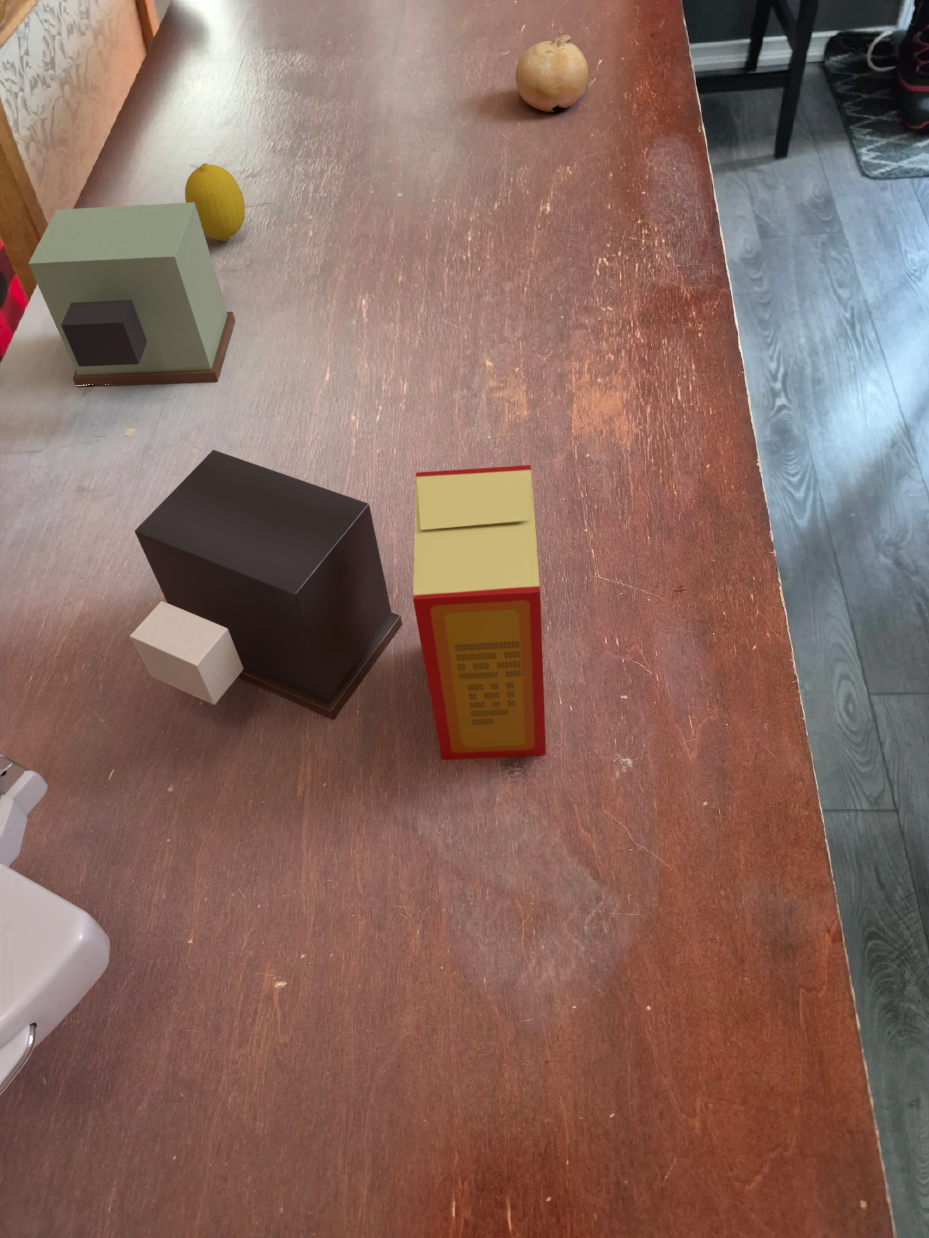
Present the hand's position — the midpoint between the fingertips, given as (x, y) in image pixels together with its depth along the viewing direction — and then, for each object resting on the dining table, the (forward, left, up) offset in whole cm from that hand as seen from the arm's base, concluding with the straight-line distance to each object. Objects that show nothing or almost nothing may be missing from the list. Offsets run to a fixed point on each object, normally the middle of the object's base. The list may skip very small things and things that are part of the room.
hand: (23, 768), depth 54 cm
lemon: (-5, +69, -13) cm, 70 cm away
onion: (+28, +94, -13) cm, 99 cm away
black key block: (+9, +18, -12) cm, 23 cm away
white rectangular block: (+5, +11, -6) cm, 13 cm away
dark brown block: (-8, +43, -6) cm, 44 cm away
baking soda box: (+23, +13, -12) cm, 29 cm away
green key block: (-8, +51, -12) cm, 53 cm away
